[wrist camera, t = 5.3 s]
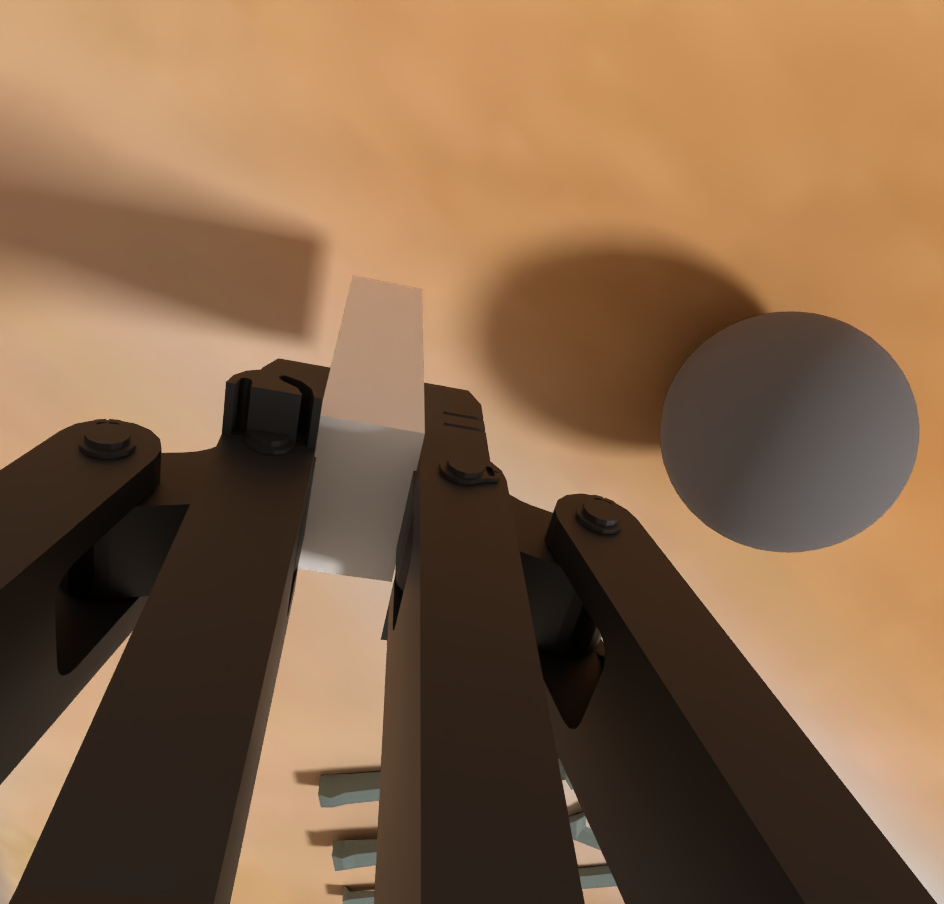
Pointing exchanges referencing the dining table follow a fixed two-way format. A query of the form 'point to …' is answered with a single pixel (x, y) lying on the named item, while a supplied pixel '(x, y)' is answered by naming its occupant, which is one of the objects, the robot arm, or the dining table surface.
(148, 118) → the dining table surface
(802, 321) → the gray ball
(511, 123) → the dining table surface
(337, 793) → the cutlery set
